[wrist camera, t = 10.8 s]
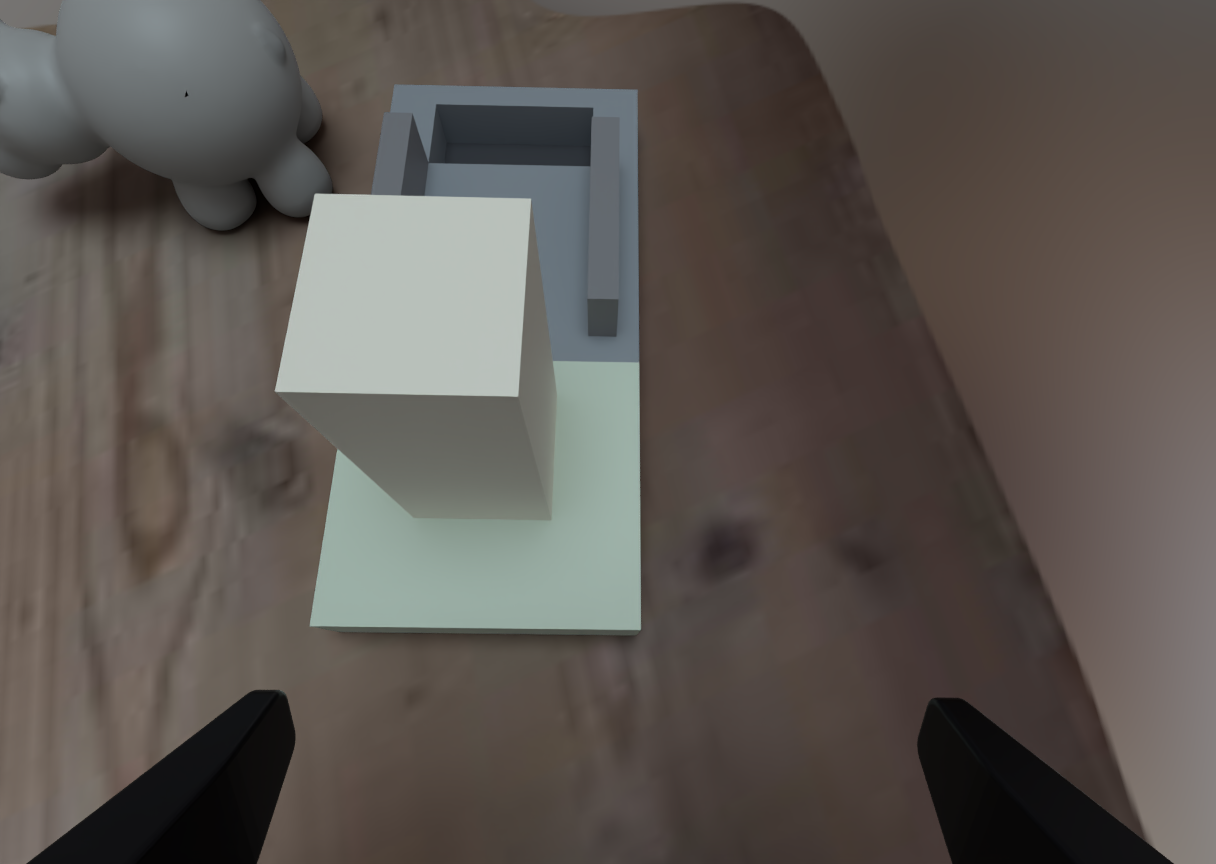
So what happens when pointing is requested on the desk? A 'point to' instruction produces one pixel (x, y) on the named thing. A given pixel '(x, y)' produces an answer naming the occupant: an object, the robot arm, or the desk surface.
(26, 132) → the grey rounded figurine
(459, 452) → the block
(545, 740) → the desk surface
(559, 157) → the channel
